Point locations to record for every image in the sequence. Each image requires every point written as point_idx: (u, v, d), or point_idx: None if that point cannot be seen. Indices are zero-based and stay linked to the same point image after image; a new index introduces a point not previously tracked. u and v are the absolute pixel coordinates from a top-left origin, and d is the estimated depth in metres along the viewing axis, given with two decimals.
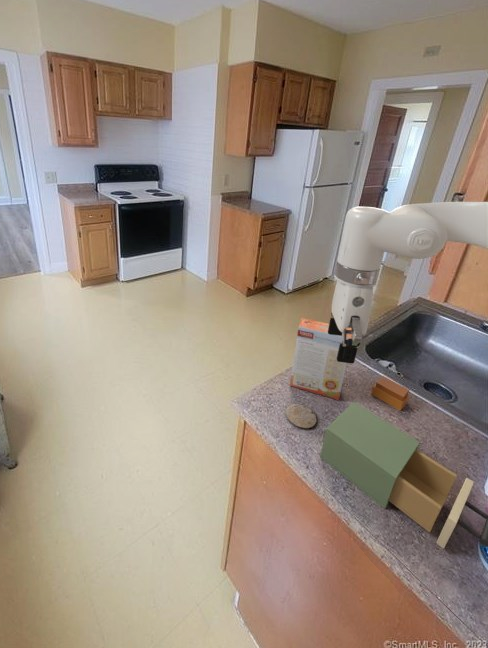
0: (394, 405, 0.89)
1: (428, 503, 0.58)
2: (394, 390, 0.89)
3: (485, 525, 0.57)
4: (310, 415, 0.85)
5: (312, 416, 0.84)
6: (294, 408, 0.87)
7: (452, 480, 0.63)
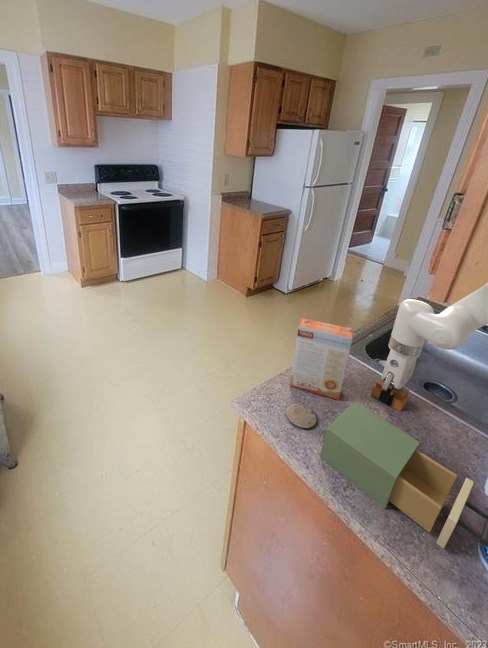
0: (394, 405, 0.89)
1: (428, 503, 0.58)
2: None
3: (485, 525, 0.57)
4: (310, 415, 0.85)
5: (312, 416, 0.84)
6: (294, 408, 0.87)
7: (452, 480, 0.63)
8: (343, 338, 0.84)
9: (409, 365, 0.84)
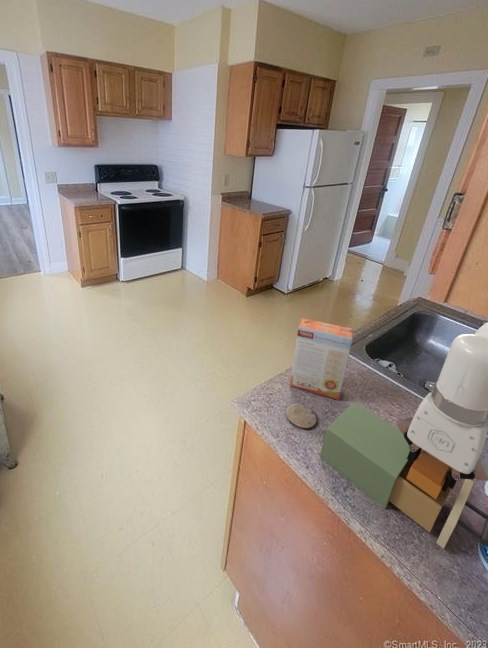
0: None
1: (428, 503, 0.58)
2: (424, 457, 0.61)
3: (485, 525, 0.57)
4: (310, 415, 0.85)
5: (312, 416, 0.84)
6: (294, 408, 0.87)
7: None
8: (343, 338, 0.84)
9: (432, 419, 0.57)
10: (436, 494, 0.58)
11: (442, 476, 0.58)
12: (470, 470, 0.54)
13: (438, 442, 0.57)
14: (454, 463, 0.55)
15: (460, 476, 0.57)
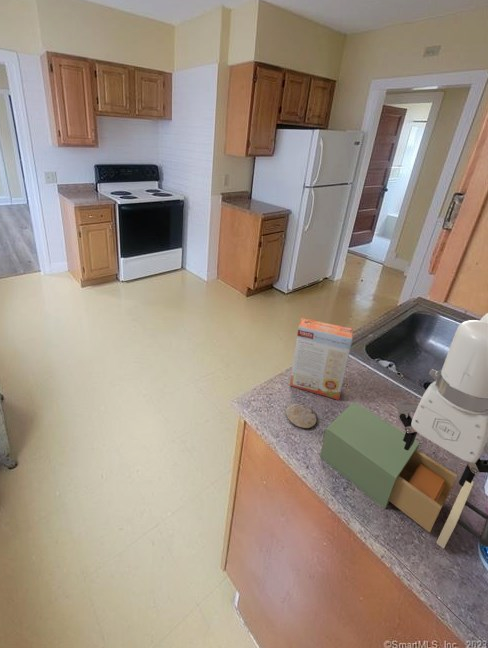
0: None
1: (428, 503, 0.58)
2: (416, 479, 0.63)
3: (485, 525, 0.57)
4: (310, 415, 0.85)
5: (312, 416, 0.84)
6: (294, 408, 0.87)
7: (452, 480, 0.63)
8: (343, 338, 0.84)
9: (437, 408, 0.56)
10: None
11: (433, 499, 0.60)
12: (476, 459, 0.53)
13: (443, 431, 0.56)
14: (459, 452, 0.54)
15: (479, 469, 0.54)
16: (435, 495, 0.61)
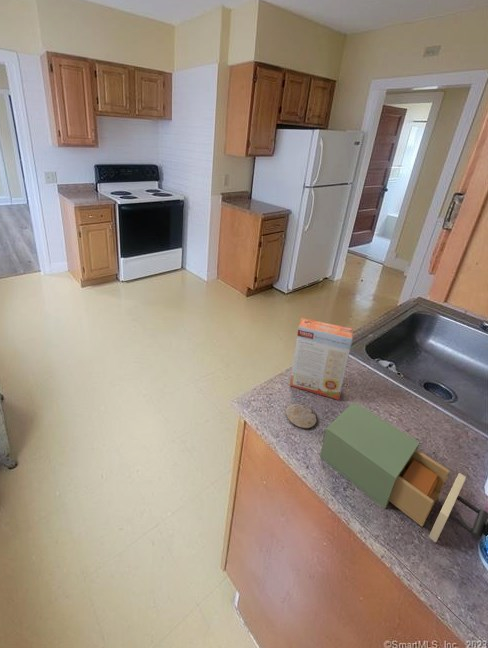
0: None
1: (421, 498, 0.59)
2: (409, 475, 0.64)
3: (476, 519, 0.57)
4: (310, 415, 0.85)
5: (312, 416, 0.84)
6: (294, 408, 0.87)
7: (445, 475, 0.64)
8: (343, 338, 0.84)
9: None
10: None
11: (425, 494, 0.61)
12: None
13: None
14: None
15: None
16: (428, 490, 0.61)
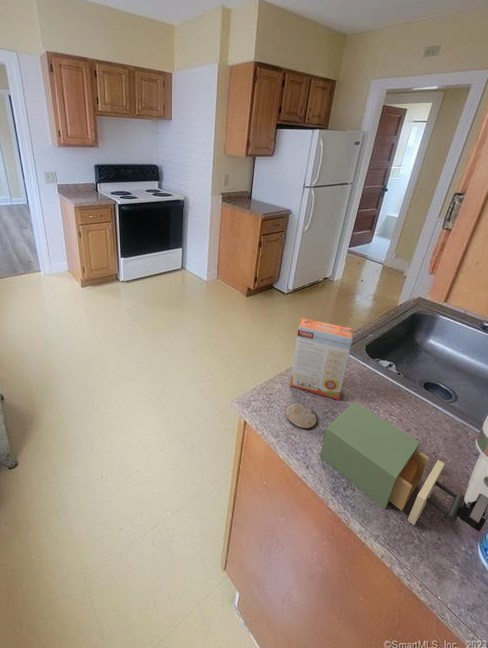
0: None
1: (400, 483, 0.62)
2: None
3: (453, 503, 0.60)
4: (310, 415, 0.85)
5: (312, 416, 0.84)
6: (294, 408, 0.87)
7: (424, 462, 0.66)
8: (342, 338, 0.84)
9: None
10: None
11: (405, 479, 0.63)
12: None
13: None
14: None
15: None
16: (407, 476, 0.64)
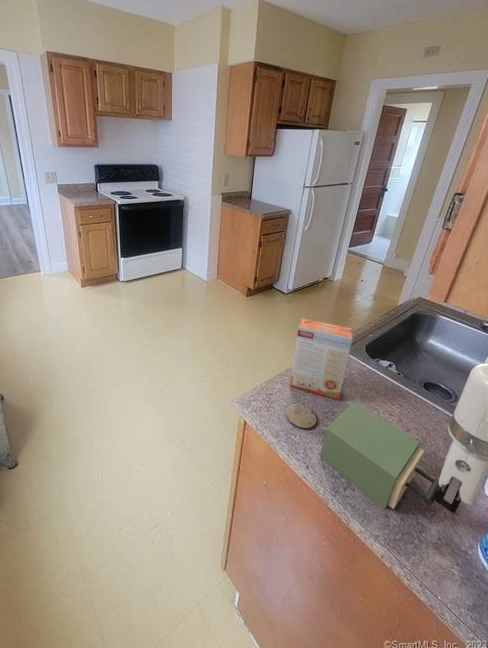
0: None
1: None
2: None
3: (430, 487, 0.63)
4: (310, 415, 0.85)
5: (312, 416, 0.84)
6: (294, 408, 0.87)
7: None
8: (343, 338, 0.84)
9: (487, 469, 0.52)
10: None
11: None
12: None
13: None
14: None
15: None
16: None
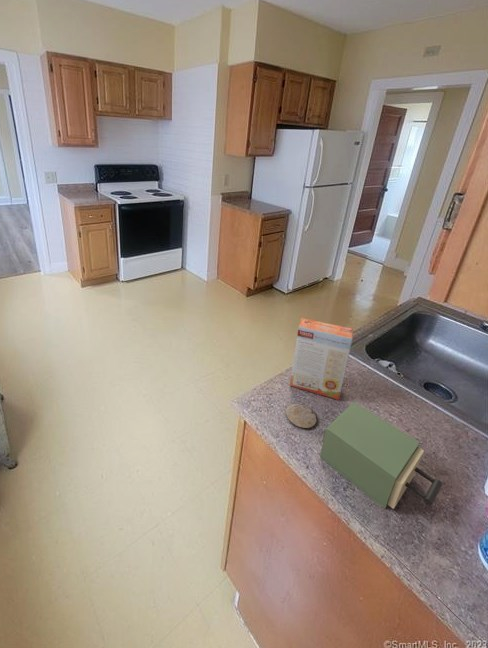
0: None
1: None
2: None
3: (430, 487, 0.63)
4: (310, 415, 0.85)
5: (312, 416, 0.84)
6: (294, 408, 0.87)
7: None
8: (343, 338, 0.84)
9: None
10: None
11: None
12: None
13: None
14: None
15: None
16: None
